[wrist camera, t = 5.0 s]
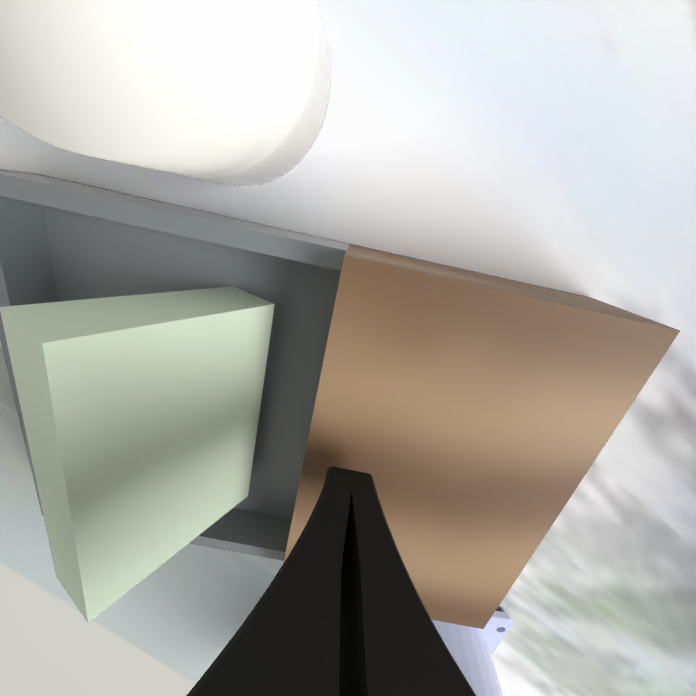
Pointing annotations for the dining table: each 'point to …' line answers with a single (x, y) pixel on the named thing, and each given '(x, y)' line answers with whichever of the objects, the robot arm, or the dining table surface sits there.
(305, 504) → the wooden block
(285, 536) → the tray
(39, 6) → the white cylinder
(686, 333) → the dining table surface
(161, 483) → the tile
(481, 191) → the dining table surface
